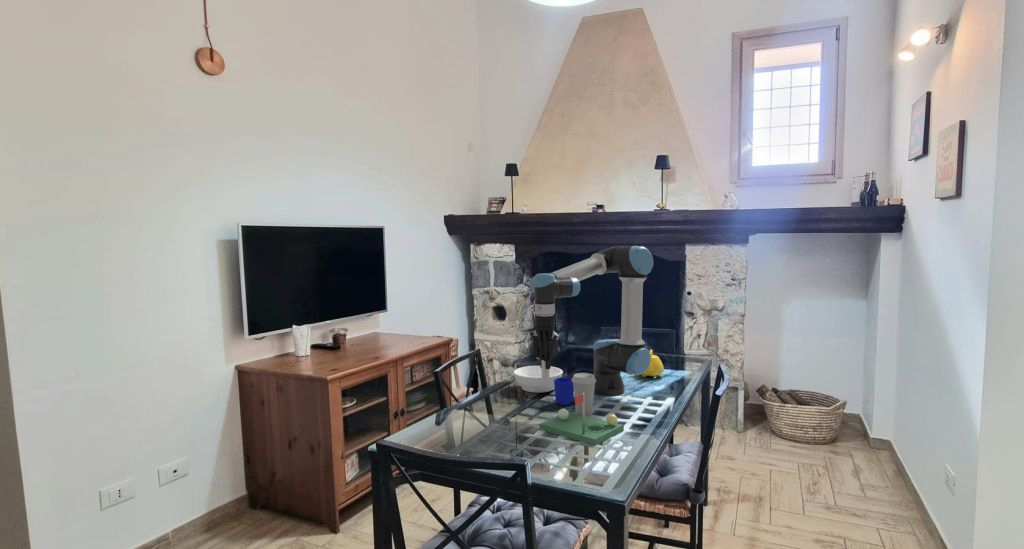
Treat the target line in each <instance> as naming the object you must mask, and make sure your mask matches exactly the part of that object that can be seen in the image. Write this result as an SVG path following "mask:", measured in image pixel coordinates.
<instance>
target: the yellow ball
mask: <svg viewBox="0 0 1024 549" xmlns="http://www.w3.org/2000/svg"><path fill="white" fill-rule="evenodd" d="M605 420H606V422H607V423H608V424H609V425H610V426H614V425H616V424H617V423H618V422H619V421H618V417H617V416H616V415H615V414H612V413H610V414H607V416H606V418H605Z"/></svg>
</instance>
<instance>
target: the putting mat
mask: <svg viewBox="0 0 1024 549" xmlns="http://www.w3.org/2000/svg"><path fill="white" fill-rule="evenodd" d="M568 413H569V416H568V418H567V419H566V420H561V419H560V418H559V417H558V415H557V416H554V417H552V418H549V419H547V420H545V421H542V422H539V425H538V426H539V428H538V429H539V430H542V431H545V432H548V433H552V434H556V435H558V436H561V437H566V438H568V439H572V440H576V441H580V442H581V443H582V442H583V443H586V444H589V445H593V446H597V445H598V444H600V443H602V442H605V441H606V440H608V439H610V438H612V437H614V436H616V435H618V434H619V433H620V434H621V433H622V432H623V431H625V425H624V424H622V423H621V424H620V423H618V422H617V424H616V425H614V426H610V425H609V424H608V423H607V422H606V419H601V418H597V417H592V416H590V415H589V416H585V434H582V415H581V414H577V413H576V412H573V411H568Z"/></svg>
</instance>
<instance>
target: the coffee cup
mask: <svg viewBox="0 0 1024 549" xmlns="http://www.w3.org/2000/svg"><path fill="white" fill-rule="evenodd" d="M571 379H572V382H573V388H574V398H575V397H576V396H578V395H581V394H582V393H584V401H585V416H589V417H590V416H592V415H593V414H594V413H593V412H594V402H595V401H594V399H595V393H594V388H595V382H596V379H595V377H594V373H593V374H592V373H587V372H579V373H578V372H577V373H575V374H573V376H572V378H571ZM574 407H575V413H577V414H581V415H582V403H580V404H577V405H575V404H574Z"/></svg>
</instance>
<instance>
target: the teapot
mask: <svg viewBox="0 0 1024 549" xmlns="http://www.w3.org/2000/svg"><path fill="white" fill-rule="evenodd" d="M649 353H650V355H651V361H650V364H649V367H648V369H646V371H645V372H644V373H643V374H641V376H642V377H646V378H647V376H648V377H652V378H653V377H658V376H660V375H662V373H663V372H664V371H665V369H664V368H665V367H664V365H663V362H662V360H661V359H660V357H659V356H658V355H655V354H653V349H650V350H649ZM657 375H658V376H657ZM642 377H641V378H642Z"/></svg>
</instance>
